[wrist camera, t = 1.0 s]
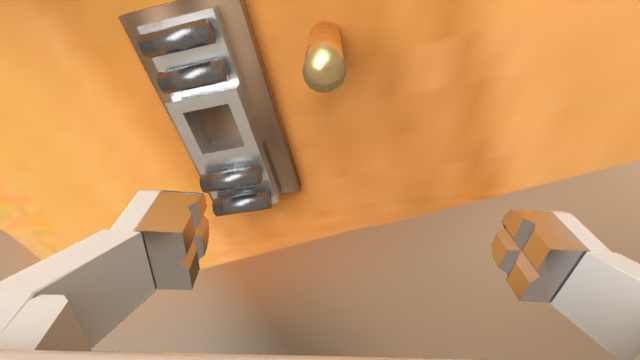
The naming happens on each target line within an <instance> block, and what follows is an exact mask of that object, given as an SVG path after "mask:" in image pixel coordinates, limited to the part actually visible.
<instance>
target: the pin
mask: <svg viewBox="0 0 640 360" xmlns="http://www.w3.org/2000/svg"><path fill="white" fill-rule="evenodd" d="M344 76H345V65H344V57H343V48H342V40H341V33H340V31H339V29H338V27H337V26H336V25H334V24H333V23H331V22H320V23H318V24H316V25H315V26H314V27H313V29H312V30H311V33H310V37H309V42H308V47H307V52H306V56H305V61H304V66H303V77H304V80H305V82H306V83H307V85H308V86H309V87H310V88H312V89H313V90H315V91H317V92H322V93H326V92H331V91H333V90H335V89H336V88H338V87H339V86H340V85H341V83H342V82H343V79H344Z"/></svg>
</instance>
